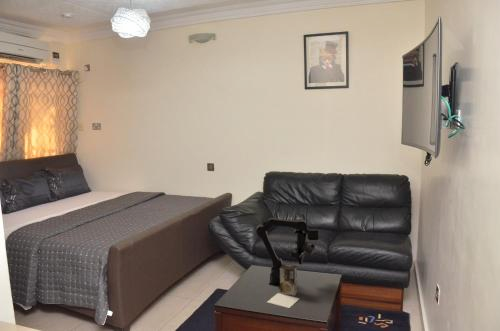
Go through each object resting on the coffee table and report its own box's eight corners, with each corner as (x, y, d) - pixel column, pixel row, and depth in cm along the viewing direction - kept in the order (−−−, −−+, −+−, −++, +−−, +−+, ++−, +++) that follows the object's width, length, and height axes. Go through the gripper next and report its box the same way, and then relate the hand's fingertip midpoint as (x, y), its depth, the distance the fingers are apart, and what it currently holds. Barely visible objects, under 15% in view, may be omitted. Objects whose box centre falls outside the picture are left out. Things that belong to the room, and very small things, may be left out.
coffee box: (297, 291, 235) (297, 265, 233) (294, 296, 229) (295, 269, 227) (282, 289, 238) (282, 264, 236) (279, 294, 232) (279, 267, 230)
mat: (266, 302, 221) (266, 301, 221) (277, 293, 233) (277, 293, 233) (289, 308, 214) (289, 307, 214) (299, 298, 225) (299, 298, 225)
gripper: (307, 246, 231) (306, 271, 232) (319, 238, 247) (318, 262, 248) (290, 243, 237) (289, 268, 238) (302, 235, 252) (302, 259, 254)
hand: (300, 264), depth 245 cm, fingers closed
